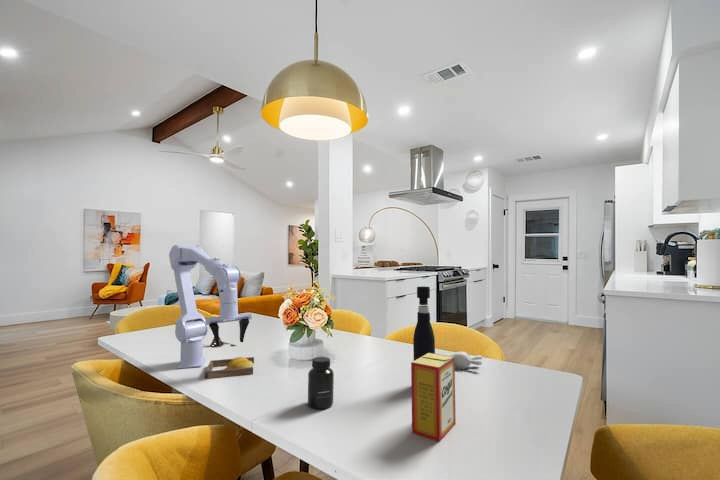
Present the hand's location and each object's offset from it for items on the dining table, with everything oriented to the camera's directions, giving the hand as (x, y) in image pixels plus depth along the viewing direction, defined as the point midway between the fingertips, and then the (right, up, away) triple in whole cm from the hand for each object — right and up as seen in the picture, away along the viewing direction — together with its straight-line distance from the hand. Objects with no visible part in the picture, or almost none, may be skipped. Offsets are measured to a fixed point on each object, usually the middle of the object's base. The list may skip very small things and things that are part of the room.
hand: (229, 343), depth 116 cm
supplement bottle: (+33, -9, -24) cm, 42 cm away
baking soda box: (+61, -9, -37) cm, 72 cm away
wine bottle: (+63, -10, -12) cm, 65 cm away
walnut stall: (-1, -11, +4) cm, 11 cm away
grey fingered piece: (+79, -10, +6) cm, 80 cm away
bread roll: (+2, -11, +5) cm, 12 cm away
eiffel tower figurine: (-19, -13, +37) cm, 44 cm away
